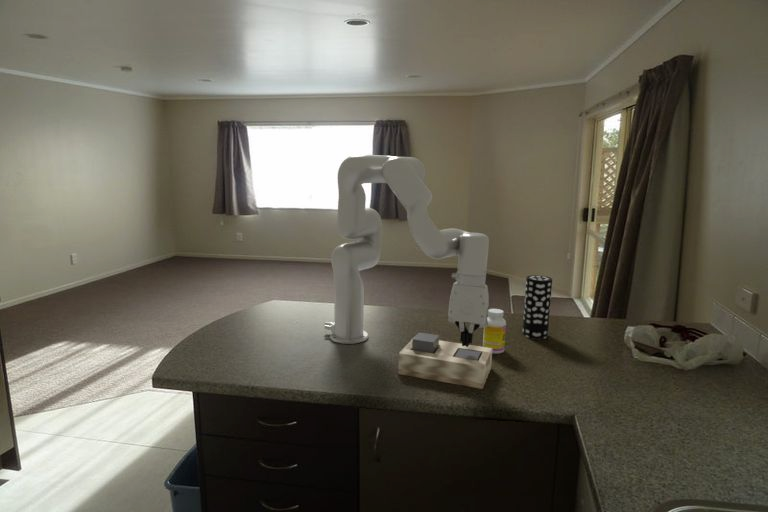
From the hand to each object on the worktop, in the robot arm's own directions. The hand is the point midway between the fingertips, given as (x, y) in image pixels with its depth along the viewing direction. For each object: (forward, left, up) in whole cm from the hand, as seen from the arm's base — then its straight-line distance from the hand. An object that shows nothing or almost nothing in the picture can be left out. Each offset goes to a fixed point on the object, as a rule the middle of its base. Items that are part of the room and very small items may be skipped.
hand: (465, 344), depth 130 cm
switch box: (-5, 0, -9) cm, 10 cm away
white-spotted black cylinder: (+16, +41, -9) cm, 45 cm away
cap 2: (+1, 0, -7) cm, 7 cm away
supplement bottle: (+5, +21, -9) cm, 23 cm away
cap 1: (-11, 0, -4) cm, 12 cm away
